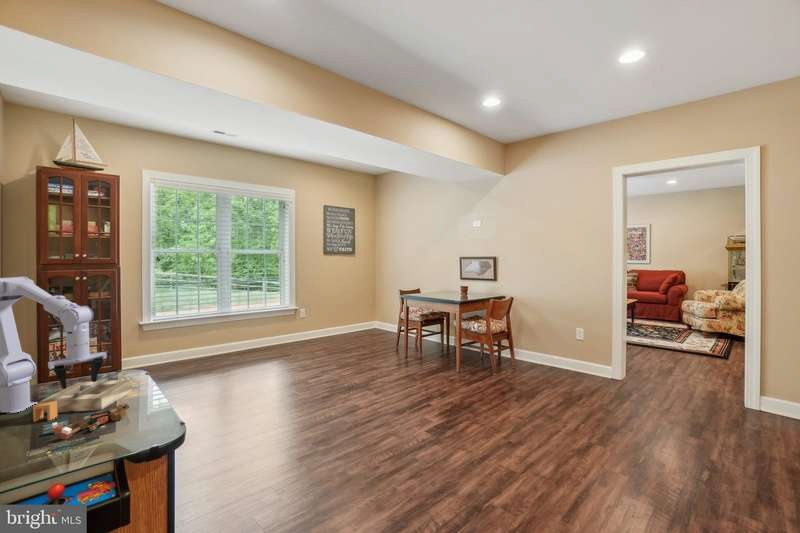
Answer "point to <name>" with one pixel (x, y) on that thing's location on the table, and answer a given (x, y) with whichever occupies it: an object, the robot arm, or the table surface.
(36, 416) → the bracket
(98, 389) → the rectangular frame
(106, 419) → the character figurine
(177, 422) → the table surface
